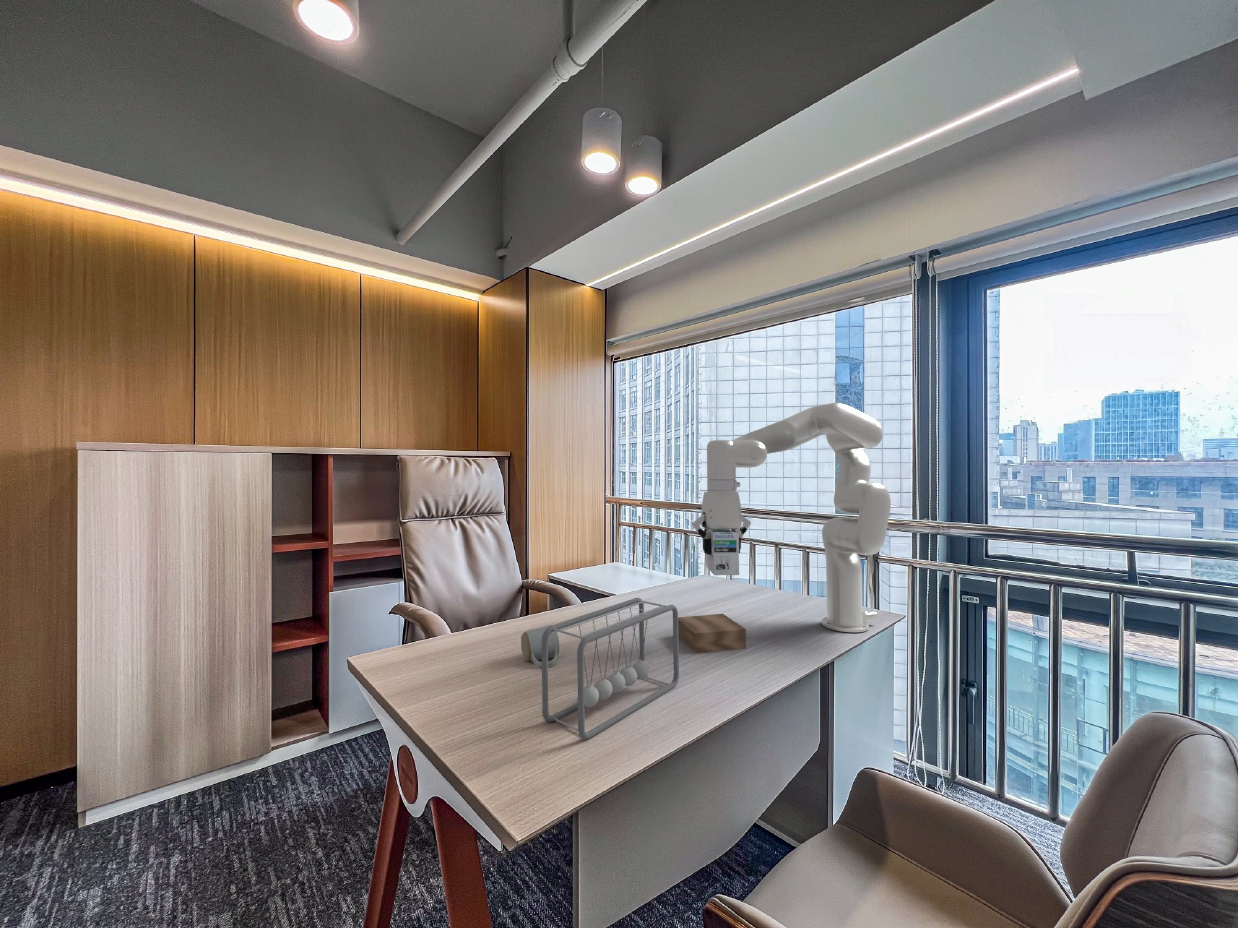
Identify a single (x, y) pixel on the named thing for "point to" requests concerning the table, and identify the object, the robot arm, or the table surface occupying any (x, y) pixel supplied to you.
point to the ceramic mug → (539, 645)
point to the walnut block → (711, 633)
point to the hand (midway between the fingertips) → (722, 552)
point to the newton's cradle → (616, 680)
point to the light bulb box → (724, 553)
